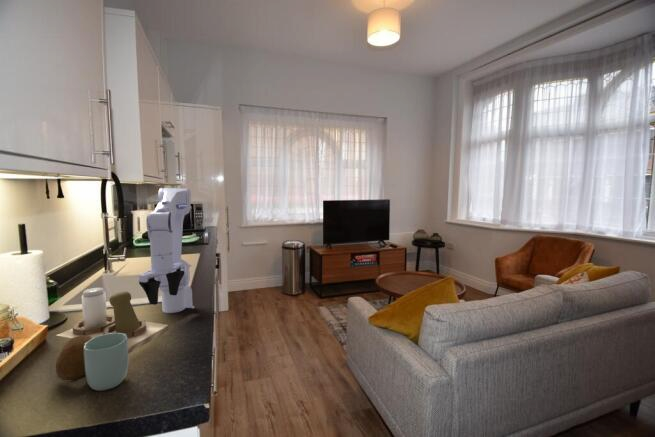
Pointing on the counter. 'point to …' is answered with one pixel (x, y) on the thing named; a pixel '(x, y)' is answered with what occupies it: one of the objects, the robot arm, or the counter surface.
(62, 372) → the potato
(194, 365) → the counter surface
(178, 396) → the counter surface
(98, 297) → the salt shaker
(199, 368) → the counter surface
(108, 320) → the cruet stand
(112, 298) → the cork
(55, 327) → the counter surface
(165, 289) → the robot arm
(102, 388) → the cup
